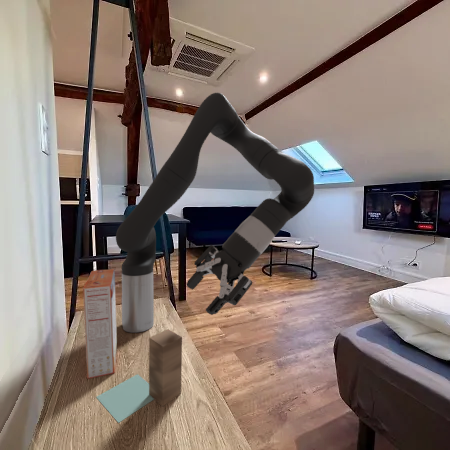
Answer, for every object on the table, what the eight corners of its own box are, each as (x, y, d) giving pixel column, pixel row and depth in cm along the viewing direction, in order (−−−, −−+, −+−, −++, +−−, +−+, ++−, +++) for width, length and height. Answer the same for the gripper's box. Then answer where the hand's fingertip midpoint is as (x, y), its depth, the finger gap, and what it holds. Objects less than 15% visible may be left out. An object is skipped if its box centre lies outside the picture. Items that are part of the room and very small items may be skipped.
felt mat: (96, 397, 50) (96, 396, 50) (137, 374, 57) (137, 374, 57) (118, 423, 44) (118, 422, 44) (161, 394, 51) (161, 393, 51)
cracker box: (93, 346, 68) (90, 269, 66) (117, 342, 70) (115, 268, 68) (84, 380, 55) (81, 286, 53) (115, 374, 57) (112, 283, 55)
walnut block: (149, 394, 51) (149, 337, 50) (167, 382, 54) (168, 329, 53) (162, 406, 48) (163, 346, 47) (181, 393, 52) (182, 337, 50)
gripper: (278, 266, 52) (226, 327, 51) (237, 235, 63) (193, 285, 61) (263, 250, 47) (205, 317, 46) (221, 219, 57) (173, 273, 56)
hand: (198, 299), depth 54 cm, fingers open, 8 cm apart
